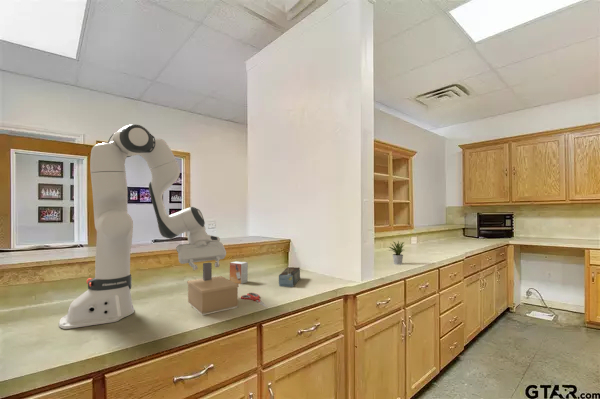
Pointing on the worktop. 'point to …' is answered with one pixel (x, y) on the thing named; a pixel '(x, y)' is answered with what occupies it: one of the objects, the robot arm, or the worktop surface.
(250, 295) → the scissors
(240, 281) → the small box
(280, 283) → the beverage carton
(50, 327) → the worktop surface
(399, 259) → the house plant
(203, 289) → the carton lid
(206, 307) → the carton
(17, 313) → the worktop surface
